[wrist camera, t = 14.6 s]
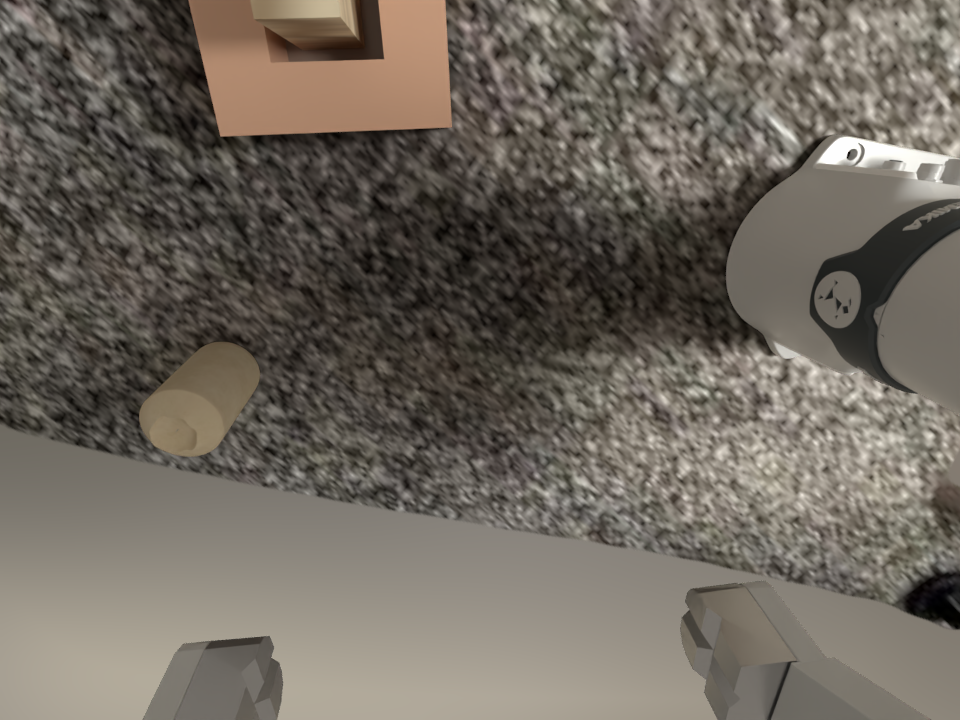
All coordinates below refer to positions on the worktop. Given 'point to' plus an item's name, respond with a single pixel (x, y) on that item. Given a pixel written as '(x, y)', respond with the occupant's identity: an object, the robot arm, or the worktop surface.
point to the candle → (200, 400)
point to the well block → (326, 72)
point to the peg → (313, 22)
